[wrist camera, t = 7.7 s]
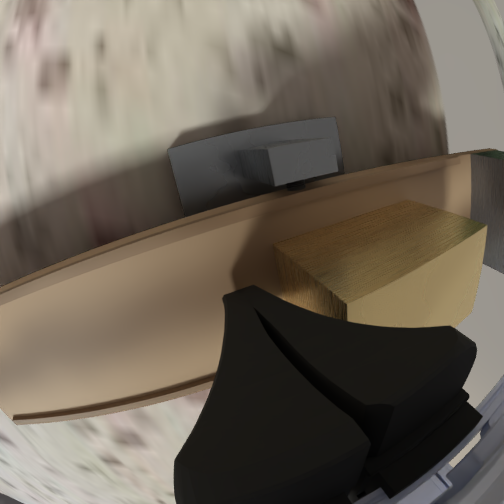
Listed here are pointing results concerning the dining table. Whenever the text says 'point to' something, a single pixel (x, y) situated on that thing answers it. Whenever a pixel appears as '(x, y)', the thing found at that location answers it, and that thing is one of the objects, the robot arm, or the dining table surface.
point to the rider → (387, 267)
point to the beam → (195, 287)
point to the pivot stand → (254, 162)
